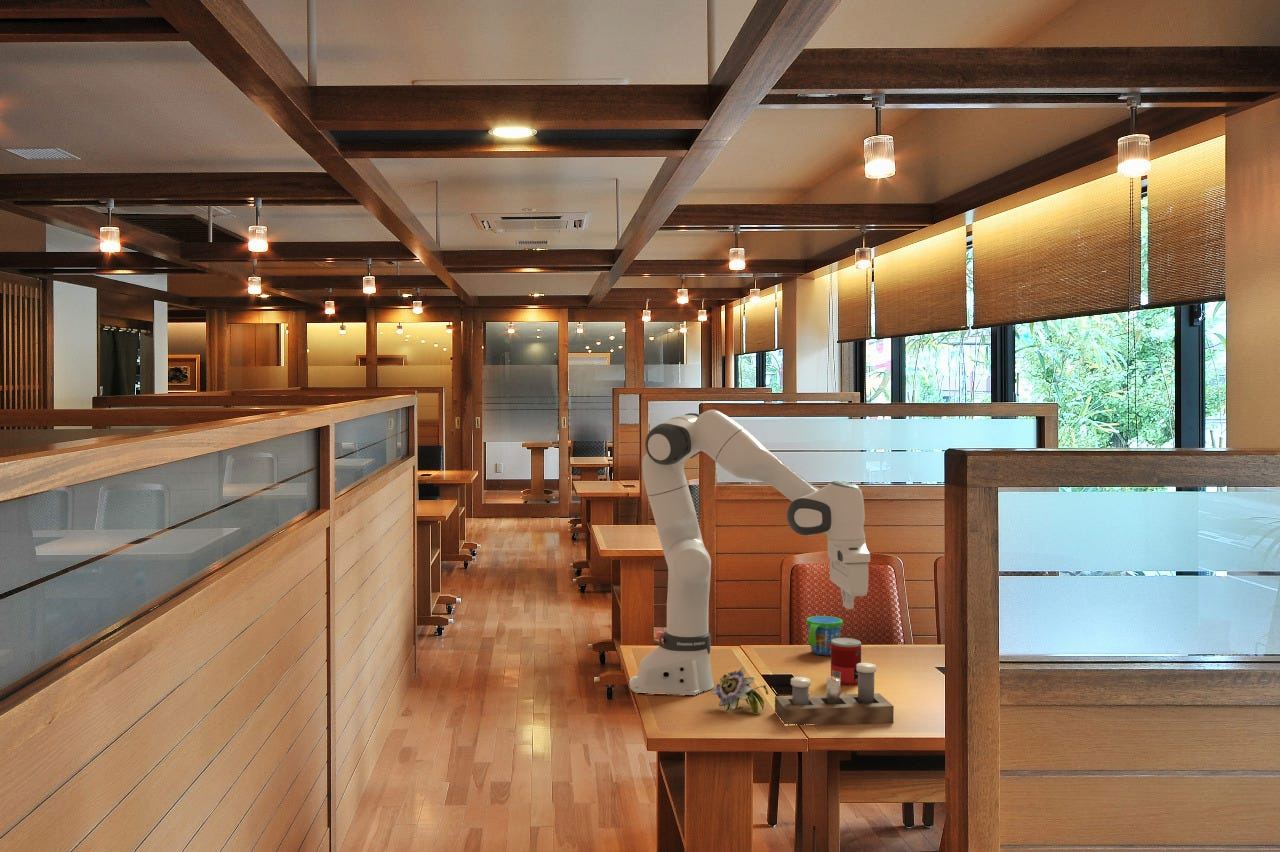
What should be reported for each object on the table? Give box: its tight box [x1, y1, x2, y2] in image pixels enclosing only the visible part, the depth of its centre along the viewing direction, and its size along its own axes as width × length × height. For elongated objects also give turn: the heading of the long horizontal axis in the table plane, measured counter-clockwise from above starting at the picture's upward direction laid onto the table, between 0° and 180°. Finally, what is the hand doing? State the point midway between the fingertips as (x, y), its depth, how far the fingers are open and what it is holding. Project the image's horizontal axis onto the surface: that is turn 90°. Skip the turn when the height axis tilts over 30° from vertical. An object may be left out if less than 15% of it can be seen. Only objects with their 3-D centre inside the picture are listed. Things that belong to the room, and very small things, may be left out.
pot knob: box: [826, 675, 841, 705], centre depth 236 cm, size 3×3×6 cm
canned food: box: [830, 637, 862, 686], centre depth 266 cm, size 8×8×11 cm
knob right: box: [856, 662, 877, 704], centre depth 237 cm, size 5×5×9 cm
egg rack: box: [774, 692, 895, 726], centre depth 236 cm, size 26×10×4 cm, turn 95°
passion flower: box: [711, 667, 769, 714], centre depth 243 cm, size 11×11×12 cm
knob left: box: [790, 676, 811, 706], centre depth 235 cm, size 5×5×9 cm
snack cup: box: [805, 615, 844, 656], centre depth 296 cm, size 16×10×10 cm
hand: (848, 607), depth 235 cm, fingers closed
